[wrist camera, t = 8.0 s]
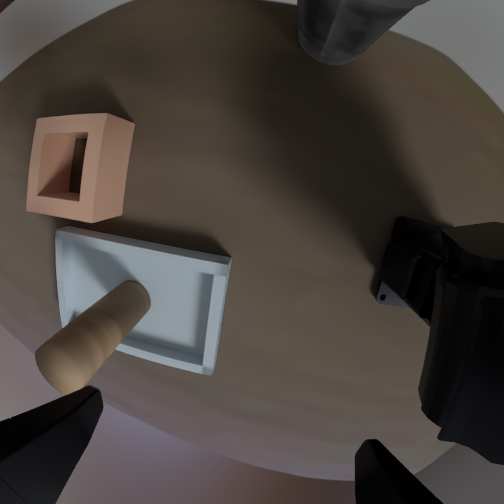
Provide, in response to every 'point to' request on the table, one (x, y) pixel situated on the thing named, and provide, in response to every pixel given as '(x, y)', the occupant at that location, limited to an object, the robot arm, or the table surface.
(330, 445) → the table surface
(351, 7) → the beverage cup
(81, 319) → the dowel
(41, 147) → the holder
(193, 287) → the tray
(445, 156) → the table surface
